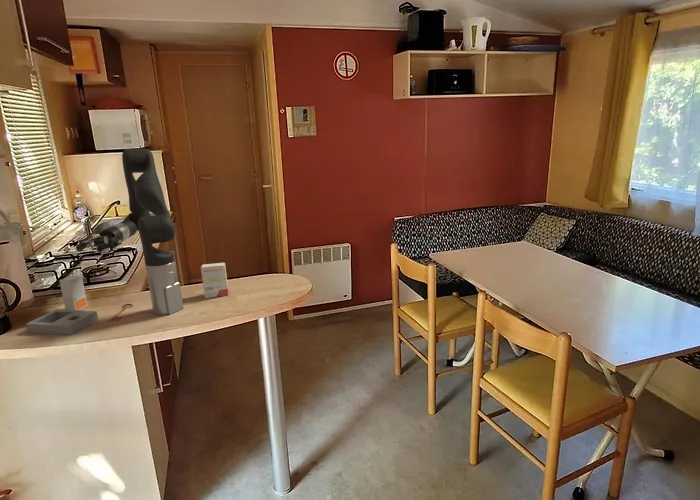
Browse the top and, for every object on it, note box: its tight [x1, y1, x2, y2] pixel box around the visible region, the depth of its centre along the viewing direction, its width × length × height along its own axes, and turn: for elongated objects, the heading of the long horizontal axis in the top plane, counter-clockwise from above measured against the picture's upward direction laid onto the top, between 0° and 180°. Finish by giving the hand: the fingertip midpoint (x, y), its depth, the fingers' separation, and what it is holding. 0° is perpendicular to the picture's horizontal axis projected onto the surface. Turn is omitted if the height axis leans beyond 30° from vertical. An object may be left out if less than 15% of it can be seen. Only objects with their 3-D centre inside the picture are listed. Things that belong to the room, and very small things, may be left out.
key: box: [107, 303, 134, 323], centre depth 160 cm, size 6×1×15 cm
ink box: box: [200, 262, 229, 299], centre depth 172 cm, size 9×5×12 cm, turn 102°
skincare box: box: [58, 274, 88, 310], centre depth 164 cm, size 6×4×12 cm
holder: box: [25, 308, 99, 336], centre depth 151 cm, size 16×12×3 cm
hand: (87, 249), depth 170 cm, fingers open, 8 cm apart
